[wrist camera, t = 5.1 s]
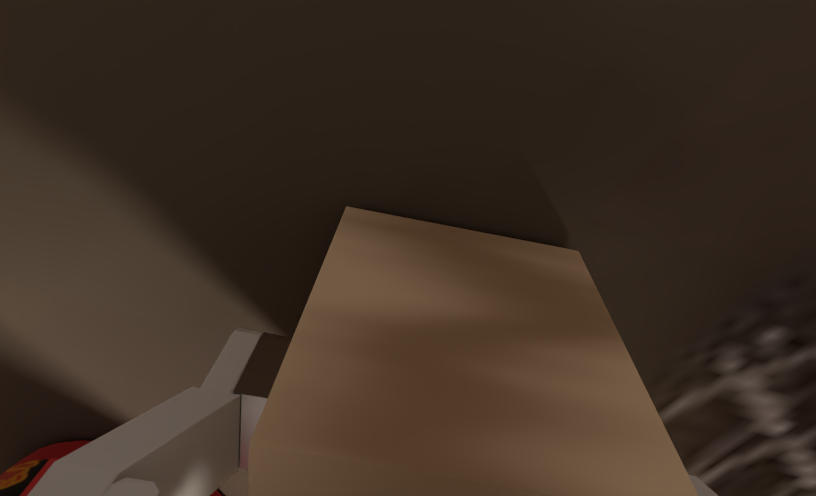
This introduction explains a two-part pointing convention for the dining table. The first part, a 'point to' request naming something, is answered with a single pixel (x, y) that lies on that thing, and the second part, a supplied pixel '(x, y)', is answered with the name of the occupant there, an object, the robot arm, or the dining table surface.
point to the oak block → (457, 376)
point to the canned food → (38, 468)
